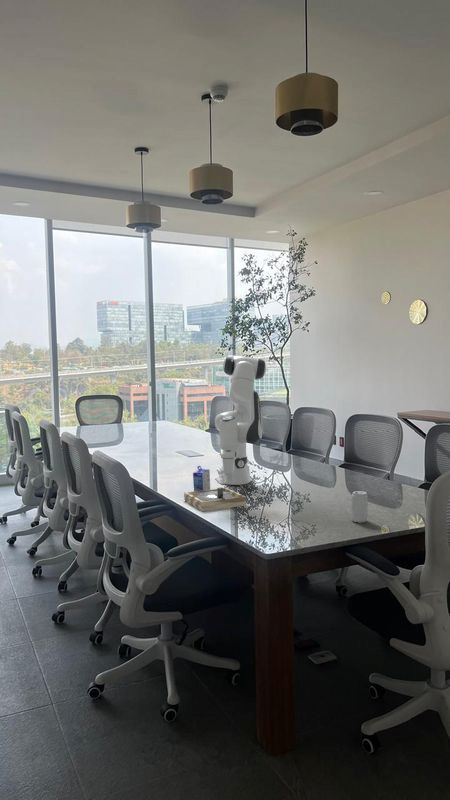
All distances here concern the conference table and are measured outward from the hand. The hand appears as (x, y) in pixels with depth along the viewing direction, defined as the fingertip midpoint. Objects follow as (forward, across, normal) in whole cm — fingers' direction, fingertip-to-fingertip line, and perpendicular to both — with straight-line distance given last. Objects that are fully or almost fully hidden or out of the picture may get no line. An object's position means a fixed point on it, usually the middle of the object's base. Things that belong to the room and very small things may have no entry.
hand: (230, 481), depth 274 cm
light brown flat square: (+10, -1, -8) cm, 13 cm away
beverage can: (+12, +29, +55) cm, 63 cm away
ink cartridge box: (+10, -17, -15) cm, 25 cm away
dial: (+8, -1, -8) cm, 11 cm away
